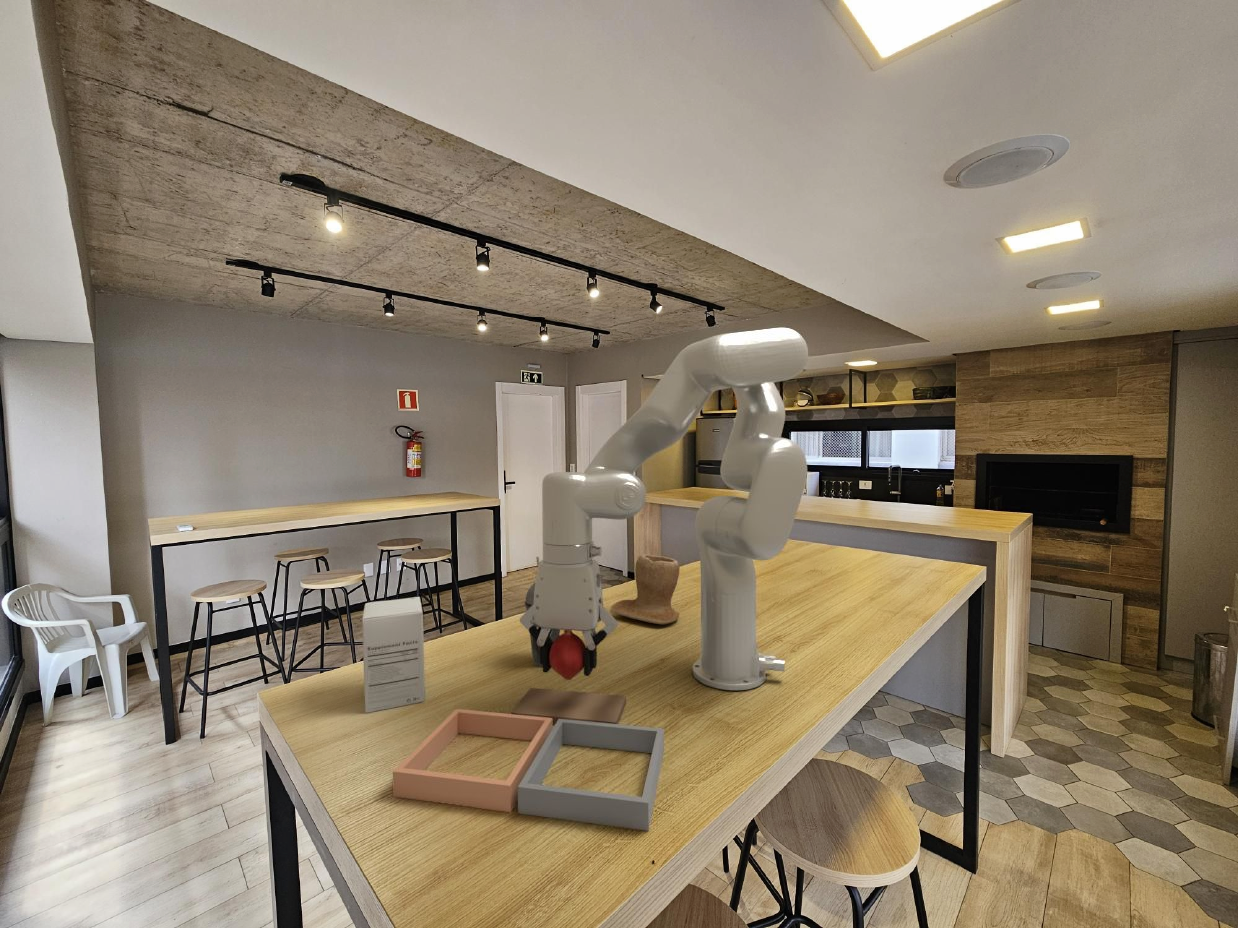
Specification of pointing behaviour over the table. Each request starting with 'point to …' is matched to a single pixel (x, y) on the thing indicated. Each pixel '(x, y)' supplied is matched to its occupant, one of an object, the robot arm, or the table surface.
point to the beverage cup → (529, 603)
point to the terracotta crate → (468, 788)
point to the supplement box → (393, 653)
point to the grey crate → (593, 803)
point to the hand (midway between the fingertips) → (568, 669)
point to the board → (571, 706)
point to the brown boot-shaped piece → (652, 591)
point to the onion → (567, 655)
